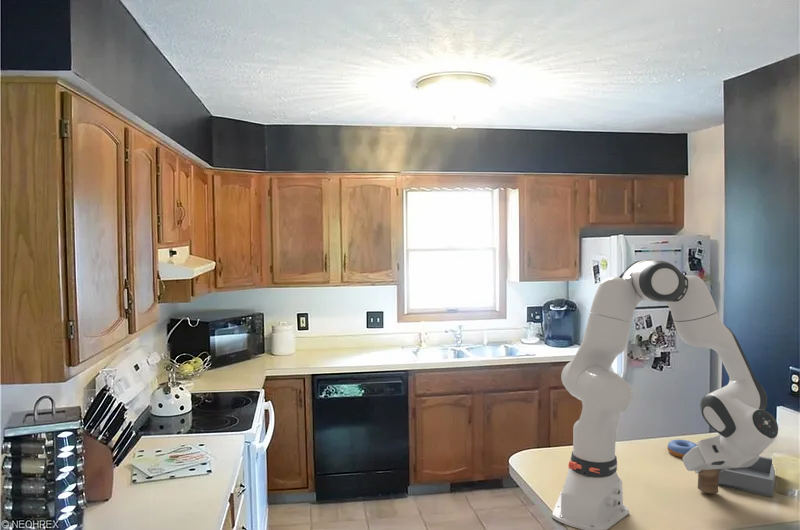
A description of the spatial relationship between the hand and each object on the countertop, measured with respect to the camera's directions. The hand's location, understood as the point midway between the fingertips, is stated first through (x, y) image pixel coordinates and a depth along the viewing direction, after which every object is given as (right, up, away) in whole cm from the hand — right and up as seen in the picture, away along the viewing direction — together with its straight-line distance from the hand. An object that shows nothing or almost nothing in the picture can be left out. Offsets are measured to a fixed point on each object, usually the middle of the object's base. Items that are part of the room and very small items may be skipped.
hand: (706, 470), depth 167 cm
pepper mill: (0, -5, 0) cm, 5 cm away
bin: (+16, -6, +8) cm, 19 cm away
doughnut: (+7, -5, +29) cm, 30 cm away
